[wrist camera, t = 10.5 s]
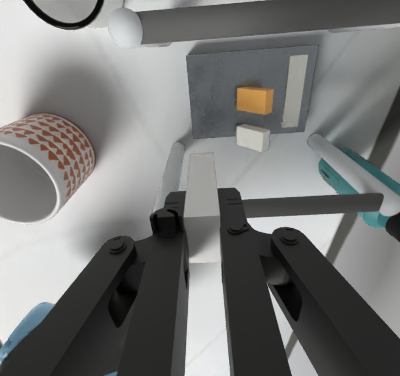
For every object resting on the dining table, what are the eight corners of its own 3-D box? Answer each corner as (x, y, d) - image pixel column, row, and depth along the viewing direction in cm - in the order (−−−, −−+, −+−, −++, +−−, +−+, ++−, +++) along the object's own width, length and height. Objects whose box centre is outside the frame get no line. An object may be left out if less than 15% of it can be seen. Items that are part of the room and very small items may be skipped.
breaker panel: (193, 133, 41) (193, 139, 39) (186, 55, 35) (185, 55, 33) (298, 127, 40) (304, 132, 38) (311, 45, 34) (319, 45, 32)
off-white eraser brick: (233, 143, 39) (261, 152, 35) (233, 125, 37) (263, 132, 33) (240, 140, 39) (268, 149, 36) (240, 123, 38) (270, 129, 34)
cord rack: (172, 155, 43) (153, 227, 26) (154, 27, 33) (103, 9, 16) (319, 146, 42) (400, 215, 25) (347, 10, 32) (513, -28, 15)
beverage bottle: (306, 160, 44) (374, 235, 26) (339, 134, 41) (437, 199, 24) (326, 181, 46) (399, 263, 29) (358, 158, 43) (459, 233, 26)
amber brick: (233, 109, 36) (264, 114, 32) (233, 87, 34) (266, 91, 30) (240, 107, 37) (271, 112, 33) (241, 86, 35) (273, 89, 31)
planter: (3, 147, 43) (-65, 182, 32) (42, 94, 38) (-22, 114, 27) (69, 195, 48) (30, 239, 37) (111, 154, 43) (80, 191, 32)
